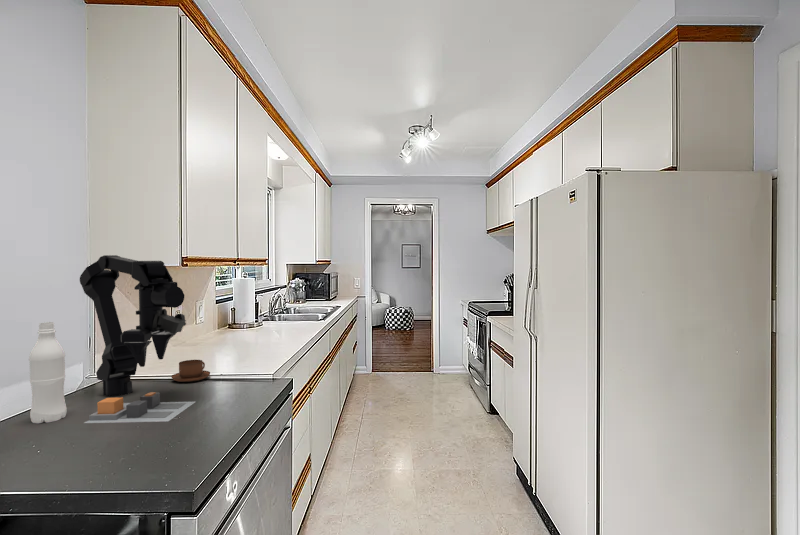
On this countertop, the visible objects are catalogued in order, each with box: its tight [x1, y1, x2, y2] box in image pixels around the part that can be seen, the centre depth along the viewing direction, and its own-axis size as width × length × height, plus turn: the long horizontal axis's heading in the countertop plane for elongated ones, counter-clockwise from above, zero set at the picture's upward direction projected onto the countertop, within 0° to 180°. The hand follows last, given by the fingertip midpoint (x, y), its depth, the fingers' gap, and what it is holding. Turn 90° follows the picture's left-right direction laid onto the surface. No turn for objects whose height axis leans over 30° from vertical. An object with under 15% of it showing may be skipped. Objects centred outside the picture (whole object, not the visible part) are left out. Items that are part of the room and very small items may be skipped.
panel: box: [84, 400, 196, 424], centre depth 121 cm, size 20×16×5 cm
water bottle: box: [28, 321, 68, 424], centre depth 117 cm, size 7×7×25 cm
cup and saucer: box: [171, 359, 211, 383], centre depth 161 cm, size 12×12×6 cm
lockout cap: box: [96, 396, 124, 414], centre depth 118 cm, size 4×4×4 cm
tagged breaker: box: [140, 391, 161, 408], centre depth 125 cm, size 3×4×3 cm
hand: (151, 362), depth 131 cm, fingers open, 9 cm apart
